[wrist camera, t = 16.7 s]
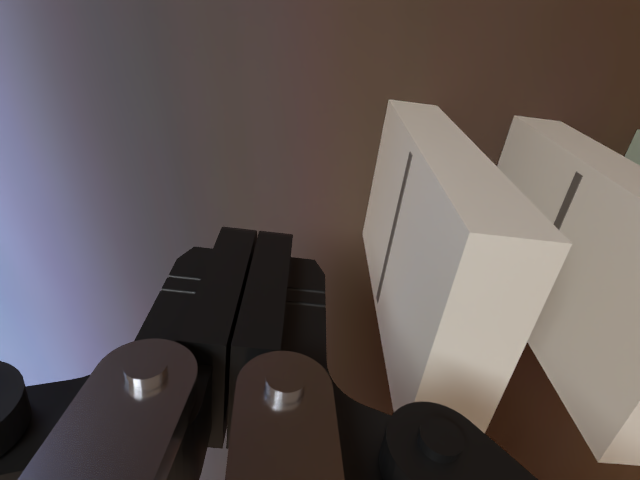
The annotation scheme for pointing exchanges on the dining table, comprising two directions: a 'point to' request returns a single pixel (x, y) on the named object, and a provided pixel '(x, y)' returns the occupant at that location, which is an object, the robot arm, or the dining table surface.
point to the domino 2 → (587, 278)
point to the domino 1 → (452, 264)
